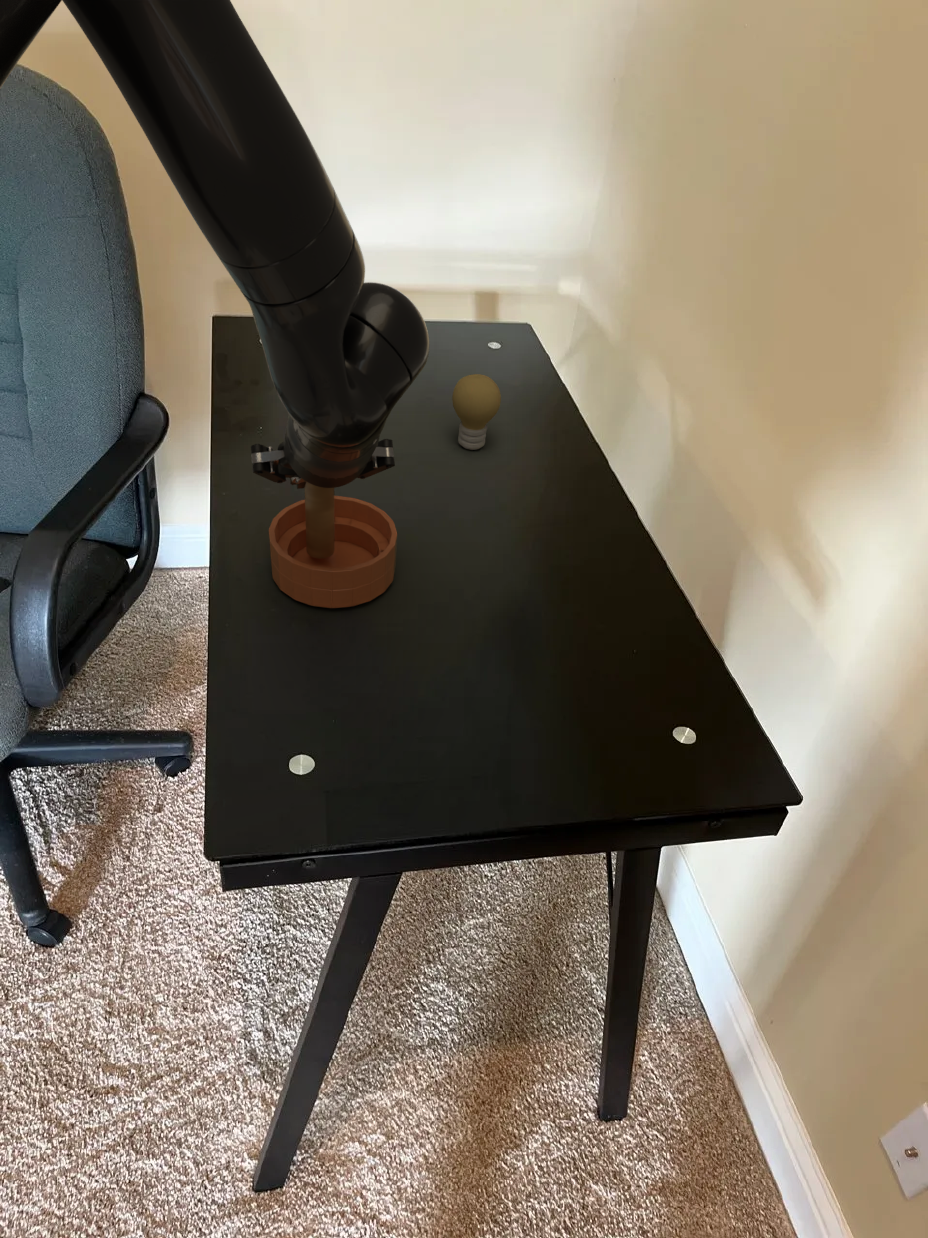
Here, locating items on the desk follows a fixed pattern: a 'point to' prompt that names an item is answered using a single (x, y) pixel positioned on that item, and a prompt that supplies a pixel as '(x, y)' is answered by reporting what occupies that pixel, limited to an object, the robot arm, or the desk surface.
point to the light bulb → (475, 408)
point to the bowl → (335, 555)
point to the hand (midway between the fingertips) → (316, 477)
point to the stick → (319, 521)
